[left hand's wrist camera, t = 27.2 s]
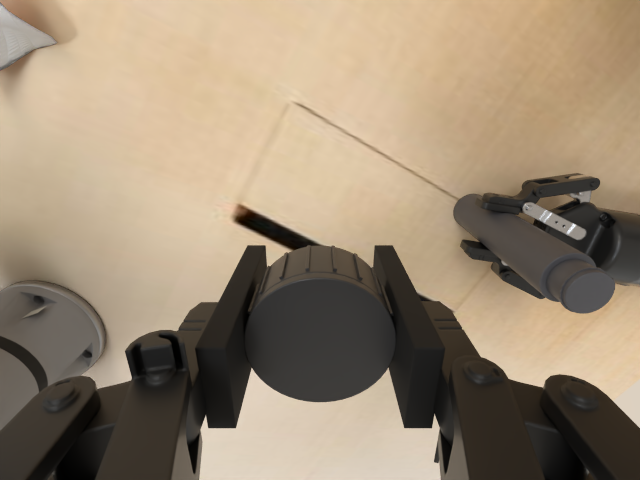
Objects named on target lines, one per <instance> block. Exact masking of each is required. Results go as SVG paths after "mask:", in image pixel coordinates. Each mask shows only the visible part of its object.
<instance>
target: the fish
mask: <svg viewBox="0 0 640 480" xmlns="http://www.w3.org/2000/svg"><path fill="white" fill-rule="evenodd" d="M56 43H57V42H56V41H55V40H54V39H53V37H51V36H49V35H48V34H46V33H44V32H42V31H40V30H38V29H37V28H35V27H33V26H31V25H30V24H28V23H27V22H25V21H23V20H22V19H20V18H19V17H17V16H15V15H14V14H12V13H11V12H9V11H8V10H7V9H6V8H5V7H4V6H3V5H2V4H1V3H0V70H2V69H4V68H7V67H8V66H10V65H11V64H13V63H14V62H16V61H17V60H19V59H20V58H22V57H23V56H25V55H26V54H28V53H29V52H31V51H33V50H34V49H37V48H42V47H46V46H50V45H54V44H56Z"/></svg>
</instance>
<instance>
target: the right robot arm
mask: <svg viewBox="0 0 640 480" xmlns="http://www.w3.org/2000/svg"><path fill="white" fill-rule="evenodd" d="M599 185H600V180H599V179H598V178H594V177H591V176H587V175H583V174H579V173H575V174H568V175H561V176H554V177H547V178H540V179H534V180H527V181H525V182H524V183H523V185H522V191H521V192H520V193H519V194H518V195H516V196H506V195H500V194H494V193H486V194H484V195H483V198H480V197H477V198H476V201H475V205H477V206H478V207H480V208H482V209H485V210H491V211H497V212H504V213H511V214H516V215H518V214H519V212H520V213H525V214H527V215H529V216H531V217H533V218H535V221H534V224H533V225H534V226H536V227H537V228H539V229H541V230H543V231H545V232H546V233H548V234H550V235H552V236H554V237H555V238H557V239H559V240H561V241H562V242H564V243H566V244H568V245H570V246H571V247H573V248H575V249H577V250H579V251H580V252H582V253H584V254H586V255H587V256H589V257H590V258H591V259H592V260H593V261H594V263H595V265H596V267H597V268H600V269H602V270H604V271H605V272H606V273H607V274H608V275H609V276H610V277H611V278H613V279H614V281H615V283H617V284H620V285H624V286H630V285H631V286H639V287H640V215H639V214H633V213H627V212H621V211H615V210H609V209H602V208H597V207H596V206H595V205H594V204H592V203H590V197H591V191H592V190H595V189H597V188H598V187H599ZM564 194H565V195H567V196H570V197H572V198H574V200H573V201H571V202H568V203H566V204H564V205H562V206H559V207H557V208H555V209H552V210H550V211H548V210H546V209H544V208H542V207H540V206H538V205H536V203H537V201H538V200H539V199H540V198H542V197H550V196H557V195H564ZM460 247H461V248H462V249H463V250H464V252H465V253H466V254H467V255H468V256H469V257H471V258H472V259H476V260H483V261H490V262H493V264H492V265H491V269H492V270H493V271H494V272H495V273H496V274H497V275H498V276H499V277H500V278H501V279H502V280H503V281H505V282H507V283H509V284H511V285H513V286H515V287H517V288H519V289H521V290H523V291H525V292H527V293H529V294H531V295H533V296H535V297H537V298H539V299H543V298H545V296H543V295H542V294H541V293H540V292H539V291H538V290H536V289H535V288H534V287H533V286H532V285H530V284H529V283H528V282H527V281H526V280H525V279H523V278H522V277H521V276H520V275H519V274H518V273H516V272H515V271H514V270H513V269H512V268H510V267H509V266H508V265H507V264H506V263H505V262H503V261H502V260H501V259H500V258H499V257H497V256H496V255H495V254H494V253H493V252H492V251H490V250H489V249H488V248H487V247H486V246H485V245H483V244H482V243H481V242H476V241H470V240H462V242H461V245H460Z"/></svg>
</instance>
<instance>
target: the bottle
mask: <svg viewBox="0 0 640 480" xmlns="http://www.w3.org/2000/svg"><path fill="white" fill-rule="evenodd" d="M477 197H480V198H483V197H482V196H480V195H477V194H469V195H466V196H464V197H462V198H461V199H460V200H459V201H458V202H457V203H456V205H455V207H454V218H455V220H456V221H457V222H458V223H459V224H460V225H461V226H462V227H463V228H464V229H466V230H467V231H468V232H469V233H470V234H472V235H473V236H474V237H475V238H476V239H477V240H479V241H480V242H481V243H482V244H483V245H485V246H486V247H487V248H488V249H489V250H490V251H492V252H493V253H494V254H495V255H496V256H497V257H499V258H500V259H501V260H502V261H503V262H505V263H506V264H507V265H508V266H509V267H510V268H512V269H513V270H514V271H515V272H516V273H518V274H519V275H520V276H521V277H522V278H523V279H525V280H526V281H527V282H528V283H529V284H530V285H532V286H533V287H534V288H535V289H536V290H538V291H539V292H540V293H541V294H542V295H543V296H545V297H546V298H547V299H549V300H552V301H556V302H561V304H562V305H563V306H564V307H565V308H566V309H568V310H569V311H572V312H576V313H590V312H593V311H596V310H598V309H600V308H601V307H603V306H604V305H605V304H606V303H607V302H608V301H609V300H610V299H611V297H612V295H613V293H614V290H615V281H614V279H613V278H611V277H610V276H609V275H608V274H607V273H606V272H605V271H604V270H602V269H600V268H597V267H596V265H595V263H594V261H593V260H592V259H591V258H590V257H589V256H587V255H586V254H584V253H582V252H580V251H579V250H577V249H575V248H573V247H571V246H570V245H568V244H566V243H564V242H562V241H561V240H559V239H557V238H555V237H554V236H552V235H550V234H548V233H546V232H545V231H543V230H541V229H539V228H537V227H536V226H534V225H532V224H530V223H529V222H527V221H525V220H523V219H521V218H520V217H518V216H516V215H514V214H511V213H504V212H497V211H491V210H485V209H482V208H480V207H478V206H477V205H475V201H476V198H477Z"/></svg>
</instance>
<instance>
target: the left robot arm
mask: <svg viewBox="0 0 640 480" xmlns="http://www.w3.org/2000/svg"><path fill="white" fill-rule="evenodd" d="M373 268H374V270H375V273H376V276H377V278H378V280H379V282H380V284H381V286H382V285H383V286H384V289H385V292H386V295H387V297H388V300H389V303H390V306H391V309H392V312H393V316H391V317H392V320H393V323H394V327H395V331H396V346H395V352H394V356H393V359H392V361H391V363H390V365H389V371H390V375H391V379H392V382H393V386H394V390H395V394H396V398H397V402H398V405H399V409H400V413H401V417H402V421H403V425H404V428H432V424H433V418H434V413H435V416H436V419H437V421H438V424H439V427H440V431H439V436H438V442H437V447H436V453H435V459H434V462H436V463H438V462H440V474H441V480H640V428H639V427H638V426H637V425H636V424H635V423H634V422H633V421H632V420H631V419H630V418H629V417H628V416H627V415H626V414H625V413H624V412H623V411H622V410H621V409H620V408H619V407H618V406H617V405H616V404H615V403H614V402H613V401H612V400H611V399H610V398H609V397H608V396H607V395H606V394H605V393H603V392H602V391H601V390H600V389H598V388H597V387H596V386H594V385H592V384H590V383H588V382H586V381H584V380H582V379H579V378H576V377H573V376H568V375H560V374H559V375H553V376H550V377H549V378H548V379H547V380H546V381H545V384H544V387H543V388H542V387H538V386H533V385H529V384H525V383H520V382H517V381H513V380H510V379H508V377H507V376H506V374H505V373H504V371H503V370H502V369H501V368H500V367H499V366H497V365H496V364H495V363H493V362H491V361H489V360H487V359H485V358H482V357H480V355H479V354H478V352H477V350H476V349H475V347H474V346H473V344H472V343H471V341H470V339H469V338H468V336H467V335H466V333H465V332H464V330H462V327H461V325H460V324H459V322H458V321H457V319H456V318H455V316H454V314H453V313H452V311H451V310H450V309H449V308H448V307H446V306H445V305H443V304H442V303H441V302H439V301H421V300H420V298H419V296H418V294H417V292H416V290H415V288H414V286H413V284H412V282H411V280H410V279H409V277H408V275H407V273H406V271H405V269H404V267H403V265H402V263H401V261H400V259H399V257H398V255H397V253H396V251H395V249H394V247H393V246H375V250H374V265H373ZM266 269H267V262H266V246H247V248H246V250H245V252H244V254H243V256H242V258H241V260H240V261H239V263H238V265H237V267H236V269H235V271H234V273H233V275H232V277H231V279H230V281H229V283H228V285H227V287H226V289H225V291H224V293H223V294H222V296H221V298H220V300H219V302H201V303H200V304H198V305H197V306H196V307H194V308H193V309H192V310H190V311H189V313H188V314H187V316H186V318H185V319H184V322H182V324H181V326H180V327H179V330H178V331H177V332H176V331H172V330H160V331H155V332H151V333H148V334H146V335H144V336H141V337H139V338H138V339H136V340H135V341H134V342H132V343H131V344H130V345H129V346H128V348H127V349H126V350H125V353H126V357H127V360H128V364H129V368H130V372H131V376H132V380H131V381H128V382H125V383H121V384H117V385H113V386H108V387H104V388H100V389H97V386H96V383H95V381H94V380H92V379H91V378H90V377H85V376H80V375H82V374H83V373H84V372H86V371H87V370H88V369H89V368H90V367H91V366H92V365H93V364H94V363H95V362H96V361H97V360H98V359H99V357H100V356H101V354H102V353H103V350H104V347H105V342H106V336H105V330H104V327H103V324H102V322H101V320H100V318H99V316H98V315H97V313H96V312H95V311H94V309H93V308H92V307H91V306H90V305H89V304H88V303H87V302H86V301H85V300H83V299H82V298H81V297H79V296H78V295H77V294H75V293H73V292H72V291H70V290H68V289H66V288H64V287H61V286H58V285H55V284H52V283H48V282H43V281H23V282H18V283H15V284H12V285H10V286H8V287H6V288H5V289H3V290H1V291H0V480H199V475H200V463H201V452H202V437H201V431H200V429H201V426H202V424H203V421H204V418H205V415H206V417H207V423H208V428H236V425H237V421H238V418H239V414H240V410H241V406H242V402H243V398H244V395H245V391H246V387H247V383H248V379H249V375H250V372H251V368H252V367H251V365H250V363H249V361H248V359H247V356H246V352H245V344H244V332H245V327H246V323H247V320H248V317H249V314H247V312H248V309H249V306H250V303H251V301H252V298H253V295H254V292H255V289H256V286H257V284H260V282H261V280H262V278H263V276H264V274H265V273H266Z"/></svg>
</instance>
